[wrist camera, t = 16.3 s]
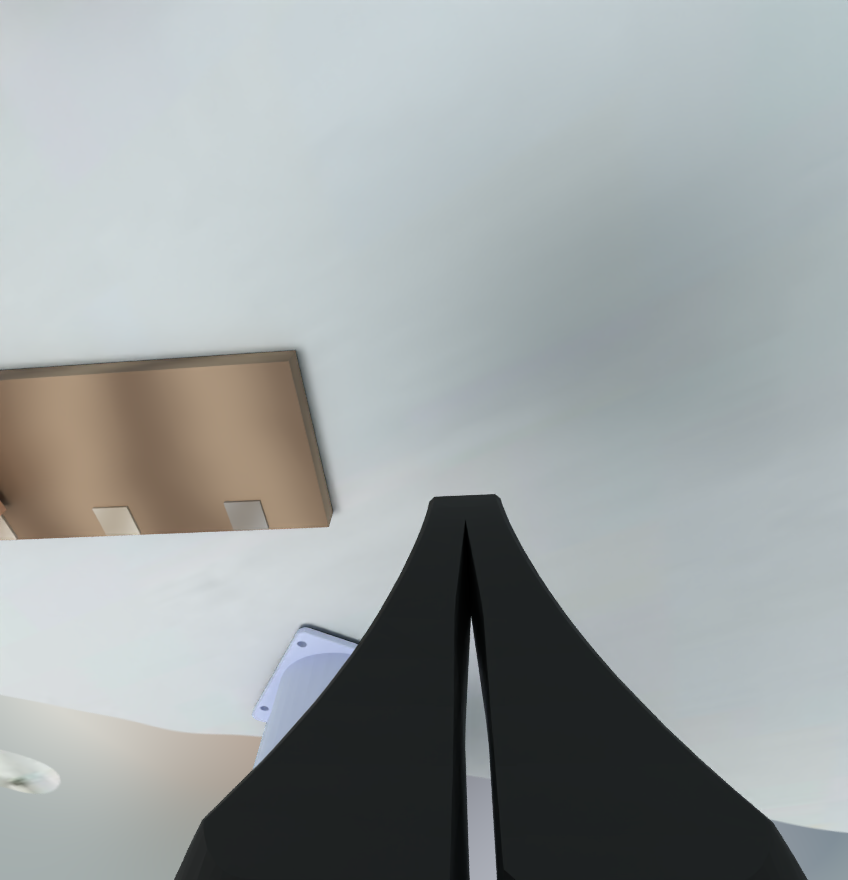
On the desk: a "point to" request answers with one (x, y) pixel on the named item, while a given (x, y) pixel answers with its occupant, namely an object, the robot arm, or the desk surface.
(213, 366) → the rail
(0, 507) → the peach colored cube
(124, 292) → the desk surface
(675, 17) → the desk surface
